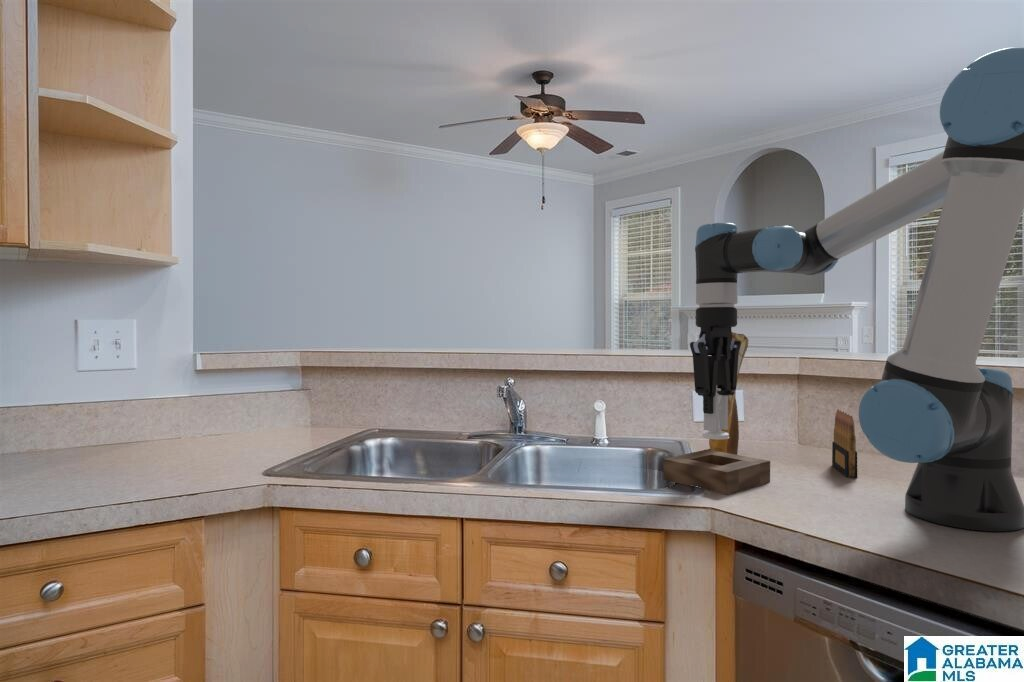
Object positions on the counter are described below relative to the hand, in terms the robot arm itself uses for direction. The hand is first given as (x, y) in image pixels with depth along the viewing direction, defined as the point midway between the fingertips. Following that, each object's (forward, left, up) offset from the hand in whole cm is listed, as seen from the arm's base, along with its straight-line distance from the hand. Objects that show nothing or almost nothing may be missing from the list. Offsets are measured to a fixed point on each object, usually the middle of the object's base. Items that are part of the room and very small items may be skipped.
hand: (715, 429), depth 120 cm
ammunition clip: (-12, -26, -10) cm, 30 cm away
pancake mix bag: (+13, -23, -10) cm, 28 cm away
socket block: (0, 0, -10) cm, 10 cm away
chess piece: (0, 0, -2) cm, 2 cm away
